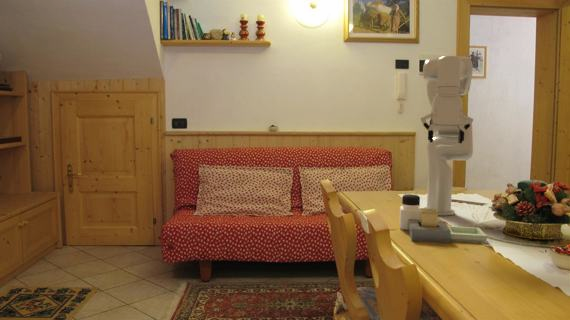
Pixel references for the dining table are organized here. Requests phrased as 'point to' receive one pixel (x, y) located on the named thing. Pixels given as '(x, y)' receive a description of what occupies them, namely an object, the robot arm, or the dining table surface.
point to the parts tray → (467, 234)
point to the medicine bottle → (409, 209)
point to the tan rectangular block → (428, 217)
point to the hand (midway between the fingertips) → (445, 142)
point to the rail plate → (429, 232)
